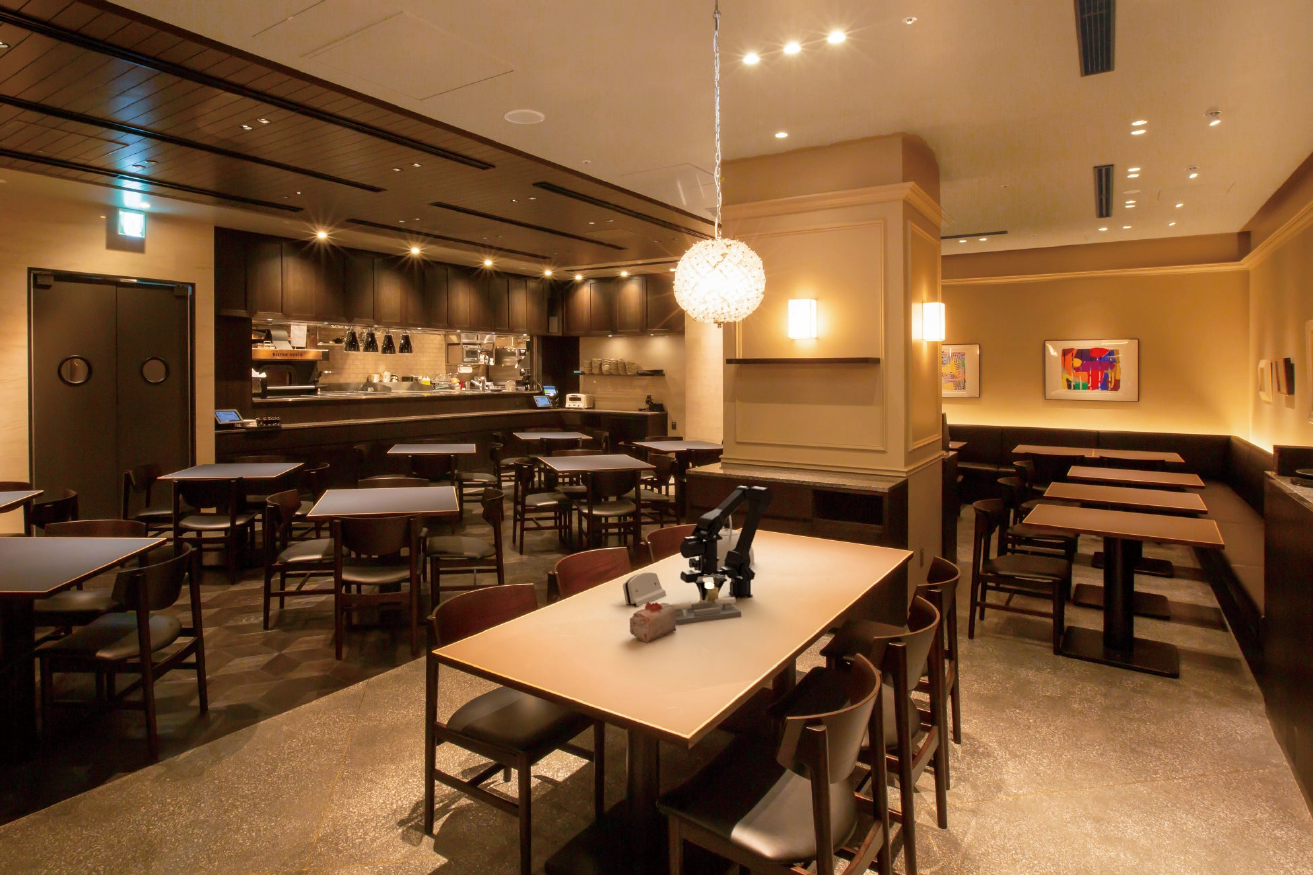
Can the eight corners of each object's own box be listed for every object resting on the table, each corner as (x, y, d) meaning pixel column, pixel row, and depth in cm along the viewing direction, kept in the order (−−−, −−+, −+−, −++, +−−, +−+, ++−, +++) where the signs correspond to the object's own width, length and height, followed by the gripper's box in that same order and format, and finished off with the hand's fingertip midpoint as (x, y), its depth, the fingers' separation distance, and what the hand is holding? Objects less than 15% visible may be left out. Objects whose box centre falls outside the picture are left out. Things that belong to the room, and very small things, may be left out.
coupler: (699, 600, 239) (699, 583, 239) (710, 599, 240) (710, 582, 240) (707, 606, 233) (707, 588, 233) (718, 605, 234) (718, 587, 234)
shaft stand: (727, 606, 232) (727, 592, 232) (741, 616, 223) (741, 601, 223) (665, 614, 225) (665, 599, 225) (676, 624, 216) (676, 609, 215)
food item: (647, 645, 199) (647, 611, 198) (627, 638, 204) (627, 605, 203) (678, 632, 209) (678, 600, 208) (658, 626, 214) (658, 594, 213)
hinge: (637, 607, 232) (629, 577, 234) (626, 609, 235) (619, 580, 237) (667, 595, 246) (659, 567, 247) (657, 597, 249) (649, 569, 250)
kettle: (694, 555, 303) (694, 504, 301) (746, 554, 305) (746, 502, 304) (704, 570, 278) (704, 514, 277) (760, 569, 280) (760, 513, 279)
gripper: (723, 546, 246) (723, 590, 247) (674, 550, 240) (674, 595, 241) (738, 553, 236) (737, 598, 237) (686, 558, 229) (686, 605, 230)
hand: (708, 599), depth 237 cm, fingers closed on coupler, 4 cm apart
